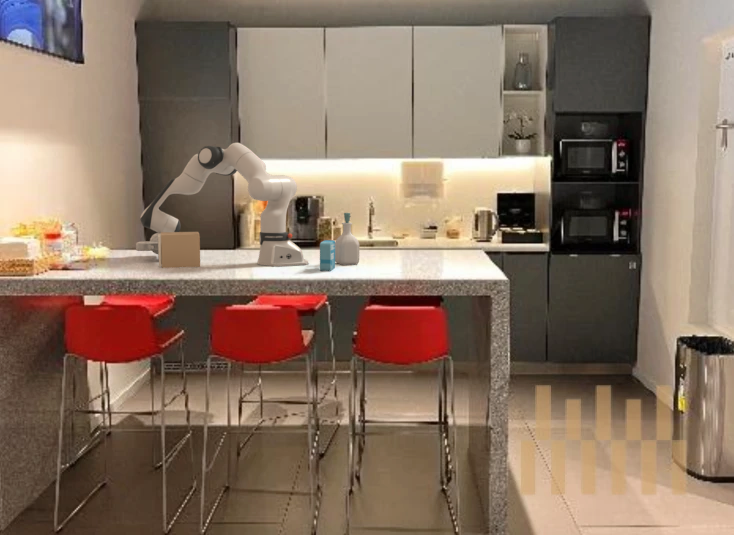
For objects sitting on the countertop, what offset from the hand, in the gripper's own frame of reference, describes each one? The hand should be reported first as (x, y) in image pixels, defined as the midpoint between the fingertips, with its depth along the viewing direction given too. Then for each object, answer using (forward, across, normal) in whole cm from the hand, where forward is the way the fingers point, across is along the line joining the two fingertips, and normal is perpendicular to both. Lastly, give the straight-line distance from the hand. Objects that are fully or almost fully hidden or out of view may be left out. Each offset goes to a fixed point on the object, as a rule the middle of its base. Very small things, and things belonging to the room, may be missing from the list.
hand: (159, 247), depth 358 cm
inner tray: (+6, +7, +6) cm, 11 cm away
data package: (+32, +69, +7) cm, 76 cm away
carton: (+8, +9, +7) cm, 14 cm away
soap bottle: (+16, +81, +7) cm, 83 cm away
